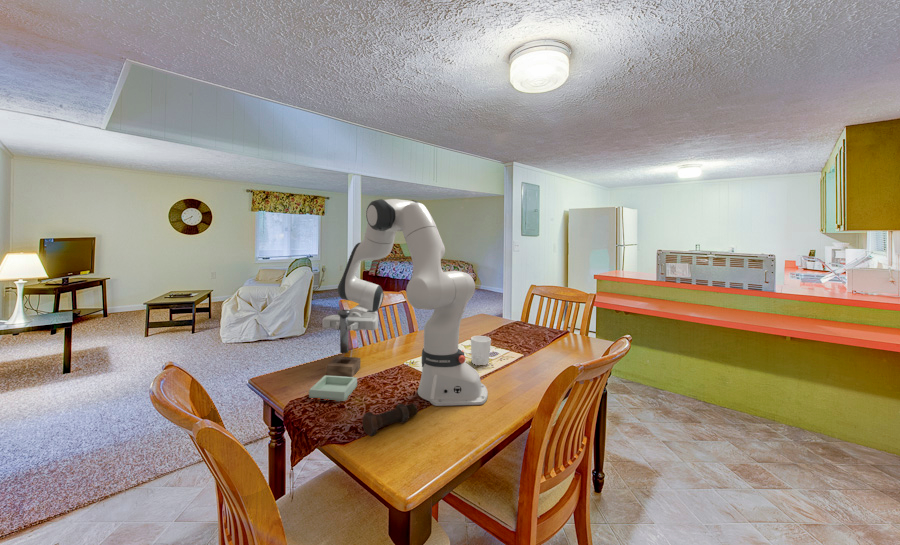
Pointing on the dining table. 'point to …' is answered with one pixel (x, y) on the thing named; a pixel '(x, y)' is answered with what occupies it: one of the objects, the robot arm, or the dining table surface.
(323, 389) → the tray
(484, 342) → the white cup
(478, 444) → the dining table surface
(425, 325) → the robot arm
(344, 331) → the pin
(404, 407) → the bolt
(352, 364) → the socket block
